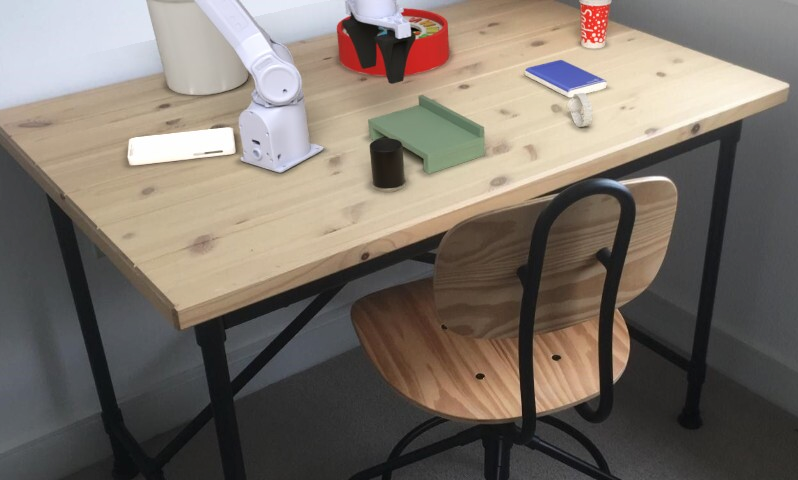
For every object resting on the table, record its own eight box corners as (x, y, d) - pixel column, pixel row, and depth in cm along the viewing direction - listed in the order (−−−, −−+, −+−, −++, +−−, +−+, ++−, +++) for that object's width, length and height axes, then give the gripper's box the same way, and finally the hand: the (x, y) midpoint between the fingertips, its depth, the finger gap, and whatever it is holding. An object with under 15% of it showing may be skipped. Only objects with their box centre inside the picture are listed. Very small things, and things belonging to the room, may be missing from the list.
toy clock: (468, 17, 177) (408, 49, 162) (469, 48, 180) (411, 83, 166) (378, 2, 185) (313, 32, 170) (380, 32, 188) (317, 64, 173)
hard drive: (606, 79, 163) (562, 58, 171) (568, 89, 159) (525, 67, 167) (606, 88, 164) (562, 67, 172) (568, 98, 160) (525, 76, 168)
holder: (392, 195, 131) (388, 154, 128) (365, 187, 133) (361, 147, 130) (412, 182, 134) (409, 142, 131) (386, 174, 136) (382, 135, 133)
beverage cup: (572, 41, 184) (575, -35, 176) (602, 37, 185) (606, -37, 178) (583, 51, 179) (587, -26, 171) (614, 48, 181) (619, -29, 173)
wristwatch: (582, 118, 153) (583, 88, 150) (595, 130, 149) (597, 99, 146) (565, 120, 152) (566, 90, 149) (578, 132, 148) (579, 102, 145)
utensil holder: (199, 104, 158) (178, -4, 148) (144, 84, 165) (121, -20, 155) (269, 78, 168) (253, -25, 158) (214, 60, 175) (196, -39, 165)
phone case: (233, 134, 148) (131, 146, 144) (232, 126, 147) (129, 137, 143) (236, 154, 142) (129, 166, 138) (234, 145, 141) (127, 158, 138)
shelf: (428, 174, 136) (427, 145, 134) (369, 137, 147) (366, 110, 144) (484, 155, 142) (484, 127, 139) (423, 121, 152) (422, 94, 149)
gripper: (427, -15, 130) (432, 82, 137) (371, -37, 139) (380, 54, 147) (382, -5, 126) (390, 93, 134) (328, -28, 136) (339, 65, 143)
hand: (382, 74), depth 140 cm, fingers open, 7 cm apart
